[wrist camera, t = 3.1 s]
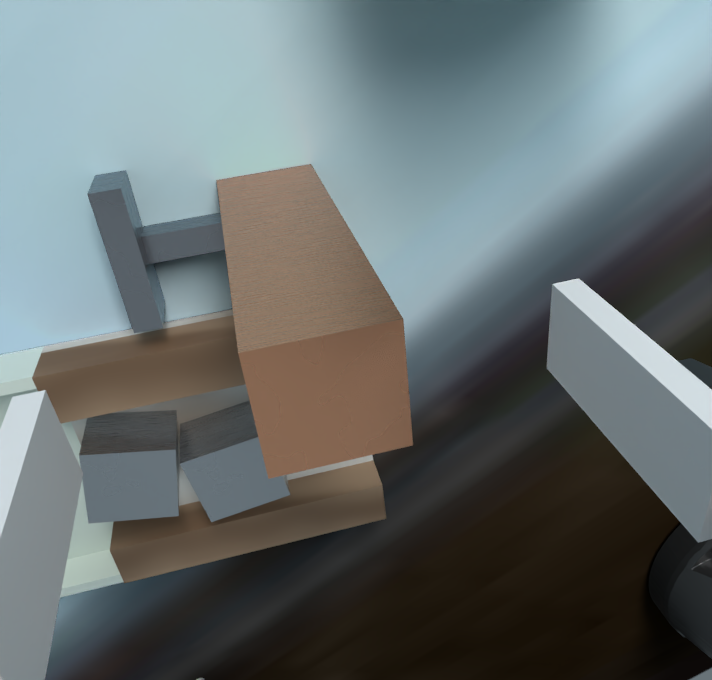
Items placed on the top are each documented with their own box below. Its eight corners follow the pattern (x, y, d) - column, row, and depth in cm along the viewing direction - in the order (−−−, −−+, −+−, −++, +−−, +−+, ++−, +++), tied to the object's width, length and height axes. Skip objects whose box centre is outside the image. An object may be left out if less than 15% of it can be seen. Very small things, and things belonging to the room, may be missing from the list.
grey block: (179, 473, 33) (178, 515, 31) (96, 479, 32) (88, 523, 30) (176, 410, 31) (175, 449, 29) (88, 414, 30) (78, 455, 28)
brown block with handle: (326, 270, 30) (414, 472, 18) (137, 307, 29) (103, 546, 17) (307, 140, 27) (400, 282, 15) (95, 175, 26) (16, 358, 14)
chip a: (282, 455, 34) (290, 494, 32) (209, 480, 34) (211, 522, 31) (258, 397, 32) (264, 434, 29) (180, 423, 32) (179, 463, 29)
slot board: (374, 485, 38) (386, 518, 35) (128, 545, 36) (124, 583, 33) (349, 285, 31) (362, 311, 29) (43, 346, 29) (31, 377, 27)
